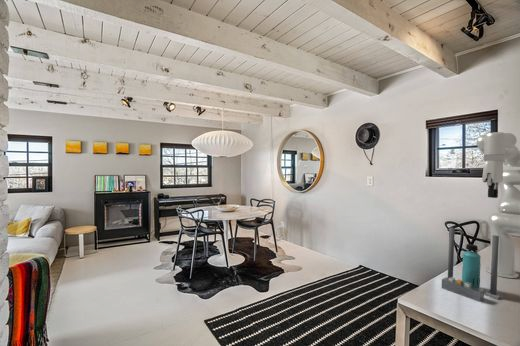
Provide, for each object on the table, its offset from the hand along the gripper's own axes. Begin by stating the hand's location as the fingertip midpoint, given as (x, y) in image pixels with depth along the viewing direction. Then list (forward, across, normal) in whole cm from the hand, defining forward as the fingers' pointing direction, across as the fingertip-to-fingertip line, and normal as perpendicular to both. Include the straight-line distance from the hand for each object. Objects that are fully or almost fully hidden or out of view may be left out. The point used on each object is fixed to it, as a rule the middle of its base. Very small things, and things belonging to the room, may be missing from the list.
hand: (492, 197), depth 123 cm
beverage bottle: (+41, +16, -2) cm, 44 cm away
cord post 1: (+41, +16, -10) cm, 45 cm away
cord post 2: (+41, +16, +6) cm, 44 cm away
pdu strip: (+41, +25, -1) cm, 48 cm away
